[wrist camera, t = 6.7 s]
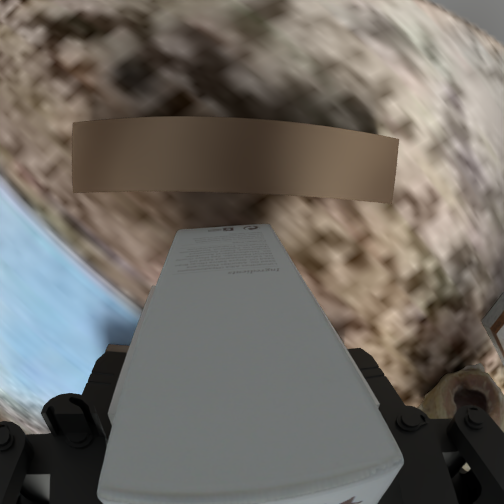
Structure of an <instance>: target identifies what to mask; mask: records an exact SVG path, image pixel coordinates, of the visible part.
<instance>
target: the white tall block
mask: <svg viewBox="0 0 504 504" xmlns="http://www.w3.org/2000/svg"><path fill="white" fill-rule="evenodd" d="M481 322H482V324H483V326H484V327H485V329H486V331H487V333H488V335H489V337H490V339H491V341H492V343H493V345H494V347H495V349H496V351H497V353H498V355H499V357H500V359H501V361H502V363H503V365H504V292H503V294H502V295H501V297H500V298H499V299H498V301H497V302H496V303H495V305H494V306H493V307H492V308H491V310H490V311H489V312H488V313H487V315H486V316H485V317H484V318H483V320H482V321H481Z"/></svg>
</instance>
